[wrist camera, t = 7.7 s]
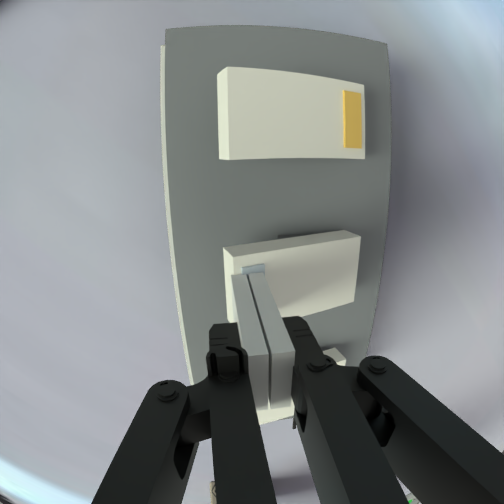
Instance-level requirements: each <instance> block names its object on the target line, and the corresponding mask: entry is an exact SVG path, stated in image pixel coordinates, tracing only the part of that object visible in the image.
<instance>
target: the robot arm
mask: <svg viewBox="0 0 504 504" xmlns="http://www.w3.org/2000/svg"><path fill="white" fill-rule="evenodd" d="M248 282H249V283H248ZM231 287H232V305H233V321H234V323H220V324H213V326H212V327H211V329H210V330H209V352H208V353H207V355H206V364H207V371H208V375H207V377H206V378H205V379H204V380H202V381H201V382H199V383H197V384H194V385H191V386H187V387H186V386H185V385H184V384H182V383H181V382H178V381H175V380H165V381H161V382H158V383H156V384H154V385H153V386H152V387H151V388H150V389H149V390H148V392H147V394H146V396H145V398H144V400H143V402H142V403H141V405H140V407H139V409H138V411H137V413H136V415H135V417H134V419H133V421H132V423H131V425H130V427H129V429H128V431H127V433H126V435H125V437H124V438H123V440H122V442H121V444H120V446H119V448H118V450H117V452H116V454H115V456H114V458H113V460H112V462H111V464H110V466H109V468H108V470H107V472H106V474H105V476H104V479H103V481H102V483H101V485H100V487H99V489H98V491H97V493H96V495H95V497H94V499H93V501H92V503H91V504H181V503H182V500H183V496H184V493H185V490H186V486H187V483H188V479H189V476H190V473H191V469H192V466H193V463H194V459H195V456H196V452H197V449H198V446H199V441H203V440H206V439H209V438H212V453H213V467H214V479H215V491H216V502H217V504H277V501H276V497H275V493H274V489H273V484H272V480H271V475H270V471H269V467H268V462H267V458H266V453H265V449H264V444H263V439H262V435H261V430H260V425H259V421H258V416H257V411H260V410H268V399H269V403H270V408H271V409H277V408H284V407H291V400H293V403H294V406H295V408H294V417H293V429H296V425H297V428H298V431H299V434H300V438H301V441H302V444H303V448H304V451H305V454H306V457H307V461H308V464H309V467H310V470H311V474H312V477H313V480H314V483H315V487H316V490H317V493H318V496H319V500H320V503H321V504H409V502H408V500H407V498H406V496H405V494H404V492H403V490H402V488H401V486H400V484H399V482H398V480H397V478H396V476H397V477H398V478H399V479H400V481H401V482H402V483H403V484H404V485H405V486H406V487H407V488H408V489H409V490H410V492H411V493H412V494H413V495H414V496H415V497H416V498H417V499H418V500H419V501H420V502H421V503H422V504H504V455H503V454H502V453H501V452H500V451H498V450H497V449H496V448H495V447H494V446H492V445H491V444H490V443H489V442H488V441H487V440H485V439H484V438H483V437H482V436H481V435H479V434H478V433H477V432H476V431H475V430H473V429H472V428H471V427H470V426H469V425H468V424H466V423H465V422H464V421H463V420H462V419H460V418H459V417H458V416H457V415H456V414H454V413H453V412H452V411H451V410H450V409H448V408H447V407H446V406H445V405H444V404H442V403H441V402H440V401H439V400H438V399H436V398H435V397H434V396H433V395H432V394H430V393H429V392H428V391H427V390H426V389H425V388H423V387H422V386H421V385H420V384H419V383H417V382H416V381H415V380H414V379H413V378H411V377H410V376H409V375H408V374H407V373H405V372H404V371H403V370H402V369H400V368H399V367H398V366H397V365H396V364H394V363H393V362H392V361H391V360H389V359H387V358H385V357H382V356H369V357H366V358H364V359H363V360H361V362H360V364H359V367H355V366H341V365H337V363H336V362H335V360H334V359H333V358H331V357H330V356H328V355H325V354H324V353H323V352H322V350H321V348H320V346H319V344H318V342H317V340H316V338H315V336H314V335H313V333H312V331H311V330H310V327H309V325H308V323H307V321H305V320H304V319H303V318H301V317H300V316H291V317H281V315H280V312H279V310H278V307H277V305H276V303H275V300H274V298H273V295H272V293H271V290H270V288H269V286H268V283H267V281H266V278H265V276H264V273H263V272H261V273H250V274H248V279H247V276H246V274H245V275H242V274H237V275H233V274H232V275H231ZM395 475H396V476H395Z"/></svg>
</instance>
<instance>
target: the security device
mask: <svg viewBox="0 0 504 504" xmlns="http://www.w3.org/2000/svg"><path fill="white" fill-rule="evenodd" d="M406 498H407V500H408V502H409V504H418V503H419V502H420V501H419V500H418V499H417V498H416V497H415V496H414V495H413V494H412V493H410V494H408V495H406Z"/></svg>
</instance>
